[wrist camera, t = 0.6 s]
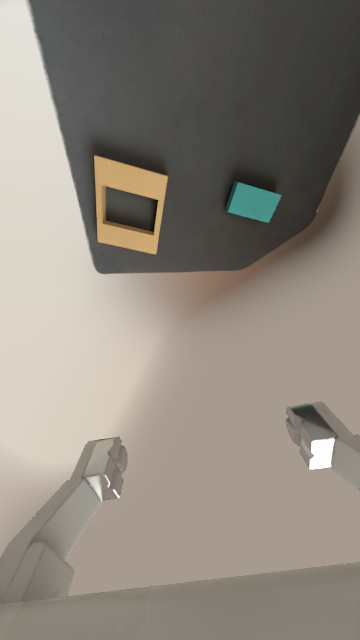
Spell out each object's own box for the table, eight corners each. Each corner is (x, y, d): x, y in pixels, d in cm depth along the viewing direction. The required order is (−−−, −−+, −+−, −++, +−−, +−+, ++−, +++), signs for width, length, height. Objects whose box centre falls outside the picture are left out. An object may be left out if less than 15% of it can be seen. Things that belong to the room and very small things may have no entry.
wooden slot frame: (99, 156, 38) (94, 155, 35) (168, 175, 40) (167, 176, 37) (101, 238, 47) (97, 241, 45) (156, 250, 50) (155, 254, 47)
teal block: (234, 181, 41) (238, 182, 38) (276, 193, 42) (281, 195, 40) (225, 209, 44) (227, 212, 42) (263, 220, 46) (268, 223, 43)
